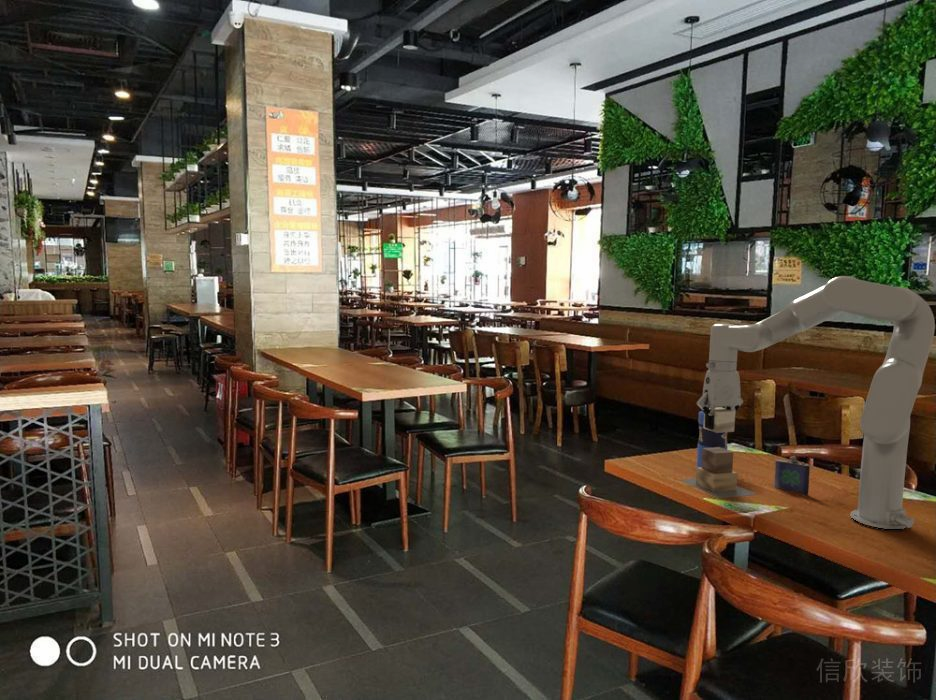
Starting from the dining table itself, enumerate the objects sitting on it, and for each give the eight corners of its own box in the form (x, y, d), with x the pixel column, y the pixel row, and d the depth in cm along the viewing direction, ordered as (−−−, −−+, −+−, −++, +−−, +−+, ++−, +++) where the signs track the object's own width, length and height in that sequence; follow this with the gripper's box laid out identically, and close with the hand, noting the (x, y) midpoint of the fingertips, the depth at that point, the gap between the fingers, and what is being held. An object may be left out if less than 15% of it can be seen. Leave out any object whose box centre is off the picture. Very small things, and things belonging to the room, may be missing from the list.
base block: (736, 489, 193) (737, 473, 193) (713, 492, 191) (714, 475, 190) (718, 481, 201) (719, 465, 200) (695, 483, 198) (696, 467, 198)
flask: (772, 489, 196) (775, 454, 195) (775, 487, 198) (777, 452, 197) (806, 496, 190) (809, 460, 189) (809, 494, 193) (812, 458, 192)
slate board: (757, 497, 189) (757, 494, 189) (719, 501, 185) (719, 498, 185) (715, 478, 206) (715, 476, 206) (679, 482, 202) (679, 479, 202)
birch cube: (734, 431, 192) (735, 411, 191) (716, 432, 190) (718, 412, 189) (720, 427, 198) (721, 407, 197) (703, 428, 196) (704, 408, 195)
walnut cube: (732, 472, 193) (733, 452, 193) (715, 473, 191) (716, 453, 191) (718, 466, 199) (719, 447, 198) (701, 468, 197) (702, 448, 196)
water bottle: (694, 473, 212) (698, 396, 209) (696, 466, 220) (700, 391, 218) (726, 477, 208) (730, 398, 206) (727, 469, 217) (731, 393, 214)
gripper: (705, 369, 186) (702, 432, 188) (756, 367, 191) (752, 429, 193) (689, 365, 193) (685, 426, 195) (738, 364, 198) (734, 423, 200)
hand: (718, 427), depth 194 cm, fingers closed on birch cube, 6 cm apart
